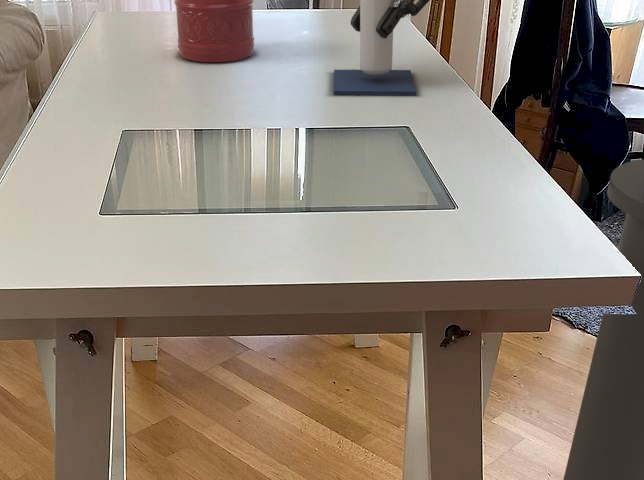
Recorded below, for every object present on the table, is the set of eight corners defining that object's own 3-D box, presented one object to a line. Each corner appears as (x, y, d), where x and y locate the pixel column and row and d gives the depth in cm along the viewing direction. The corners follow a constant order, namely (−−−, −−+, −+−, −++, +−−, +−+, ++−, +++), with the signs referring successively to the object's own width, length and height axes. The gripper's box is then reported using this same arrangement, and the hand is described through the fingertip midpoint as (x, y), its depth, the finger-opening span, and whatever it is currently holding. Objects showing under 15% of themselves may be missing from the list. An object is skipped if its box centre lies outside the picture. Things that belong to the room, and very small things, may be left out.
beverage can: (374, 65, 129) (375, -21, 122) (399, 70, 126) (401, -18, 119) (353, 72, 126) (353, -15, 119) (378, 77, 123) (379, -13, 117)
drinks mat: (410, 73, 132) (410, 69, 132) (416, 95, 122) (416, 91, 122) (333, 73, 132) (333, 69, 132) (333, 94, 123) (333, 90, 122)
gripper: (387, -93, 123) (322, 6, 124) (459, -86, 113) (388, 22, 114) (410, -56, 128) (348, 39, 129) (481, -46, 119) (413, 56, 120)
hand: (367, 30), depth 122 cm, fingers closed on beverage can, 5 cm apart
